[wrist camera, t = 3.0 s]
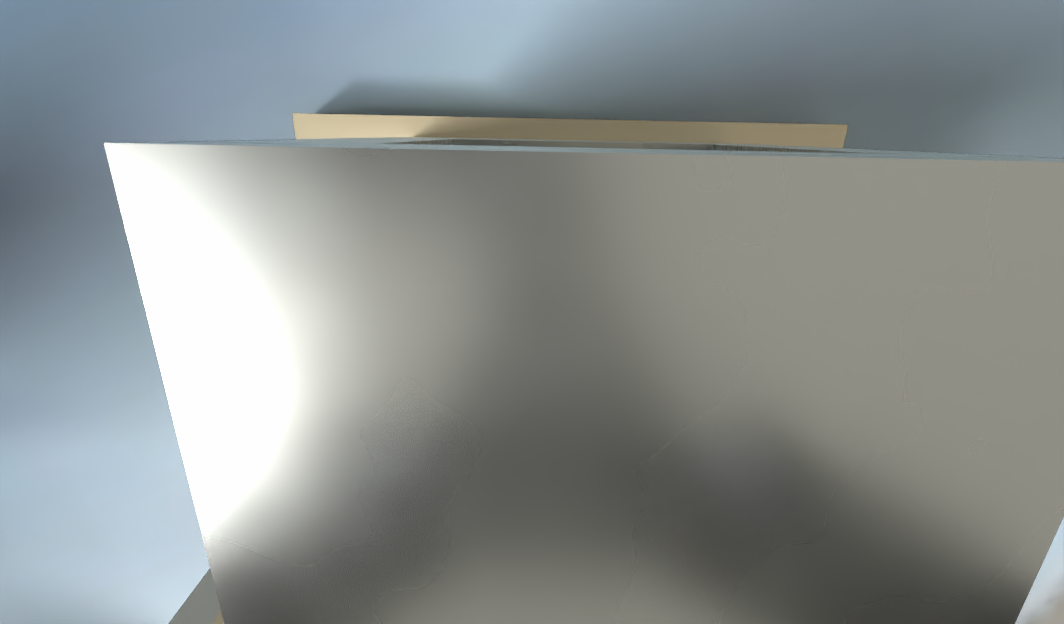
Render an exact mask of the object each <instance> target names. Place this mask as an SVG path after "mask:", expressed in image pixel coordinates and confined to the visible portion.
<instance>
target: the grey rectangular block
mask: <svg viewBox="0 0 1064 624" xmlns="http://www.w3.org/2000/svg"><path fill="white" fill-rule="evenodd" d="M104 146H105V150H106V154H107V158H108V162H109V166H110V170H111V174H112V178H113V182H114V186H115V190H116V194H117V198H118V202H119V206H120V210H121V214H122V218H123V222H124V226H125V230H126V234H127V238H128V242H129V246H130V250H131V254H132V258H133V262H134V266H135V270H136V274H137V278H138V282H139V286H140V290H141V294H142V298H143V302H144V306H145V310H146V314H147V318H148V322H149V326H150V330H151V334H152V338H153V342H154V346H155V350H156V354H157V358H158V362H159V366H160V370H161V374H162V378H163V382H164V386H165V390H166V394H167V398H168V402H169V406H170V410H171V414H172V418H173V422H174V426H175V430H176V434H177V437H178V441H179V445H180V449H181V453H182V457H183V461H184V465H185V469H186V473H187V477H188V481H189V485H190V489H191V493H192V497H193V501H194V505H195V509H196V513H197V517H198V521H199V525H200V529H201V533H202V537H203V541H204V545H205V549H206V553H207V557H208V561H209V565H210V569H211V573H212V577H213V581H214V585H215V589H216V593H217V597H218V601H219V605H220V609H221V613H222V617H223V621H224V624H1015V622H1016V620H1017V617H1018V615H1019V613H1020V611H1021V609H1022V607H1023V604H1024V602H1025V600H1026V598H1027V596H1028V593H1029V591H1030V589H1031V587H1032V585H1033V583H1034V580H1035V578H1036V576H1037V574H1038V572H1039V570H1040V567H1041V565H1042V563H1043V561H1044V559H1045V556H1046V554H1047V552H1048V550H1049V548H1050V546H1051V543H1052V541H1053V539H1054V537H1055V535H1056V533H1057V530H1058V528H1059V526H1060V524H1061V522H1062V520H1063V517H1064V158H1049V157H1027V156H1004V155H982V154H959V153H937V152H914V151H892V150H869V149H847V148H824V147H802V146H779V145H757V144H734V143H694V142H645V141H595V140H546V139H496V138H446V137H379V138H327V139H276V140H224V141H173V142H121V143H104Z"/></svg>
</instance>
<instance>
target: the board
mask: <svg viewBox="0 0 1064 624" xmlns="http://www.w3.org/2000/svg"><path fill="white" fill-rule="evenodd" d="M292 114H293V122H294V130H295V138H296V139H327V138H379V137H446V138H496V139H546V140H595V141H645V142H694V143H734V144H757V145H779V146H802V147H824V148H843V147H844V142H845V138H846V133H847V128H848V125H840V124H791V123H742V122H693V121H644V120H595V119H546V118H497V117H448V116H399V115H350V114H301V113H292Z"/></svg>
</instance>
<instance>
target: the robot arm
mask: <svg viewBox="0 0 1064 624" xmlns="http://www.w3.org/2000/svg"><path fill="white" fill-rule="evenodd" d="M169 624H224V621H223V617H222V613H221V609H220V605H219V601H218V597H217V593H216V589H215V585H214V581H213V577H212V573H211V569H209V570H208V572H207V573H206V574H205V576H204V577H203V578H202V580H201V581H200V582H199V584H198V585H197V586H196V588H195V589H194V590H193V592H192V593H191V594H190V596H189V597H188V598H187V600H186V601H185V602H184V604H183V605H182V606H181V608H180V609H179V610H178V612H177V613H176V614H175V616H174V617H173V618H172V620H171V621H170V622H169Z"/></svg>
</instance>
